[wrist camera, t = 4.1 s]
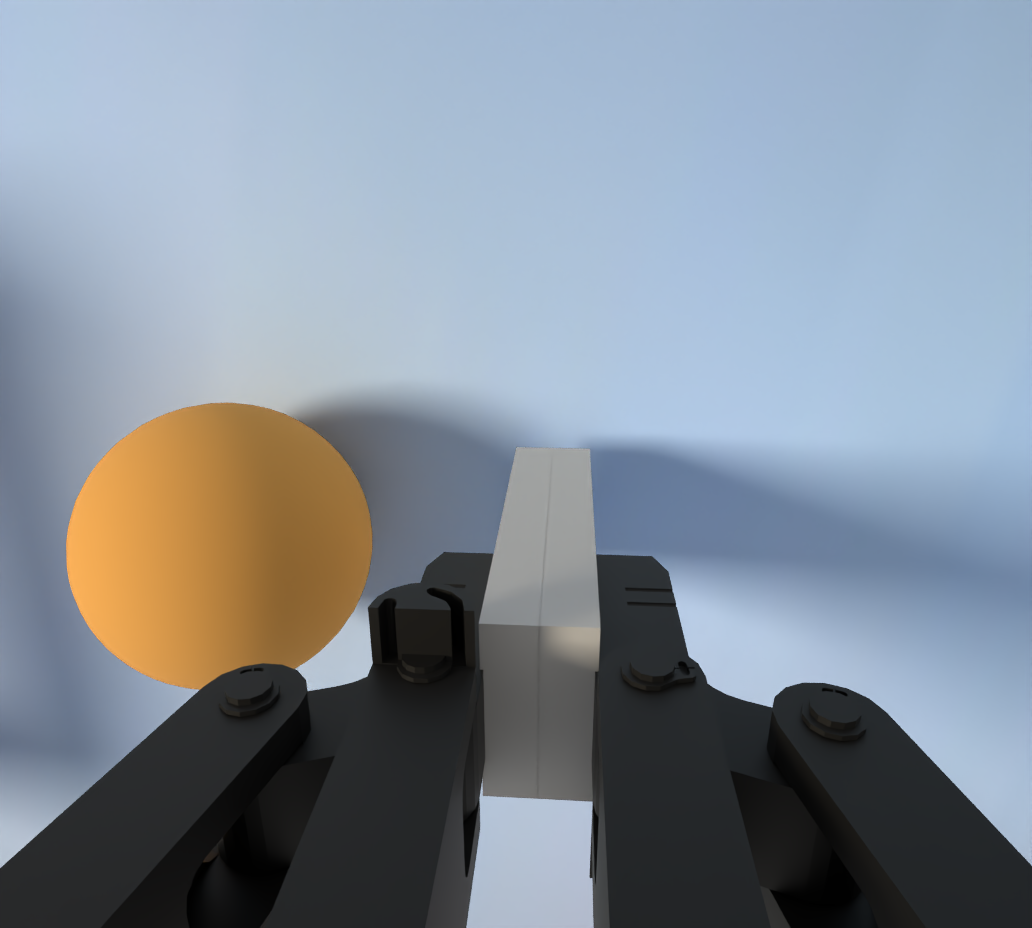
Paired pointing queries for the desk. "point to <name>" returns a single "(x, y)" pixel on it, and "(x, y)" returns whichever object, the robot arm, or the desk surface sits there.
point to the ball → (218, 544)
